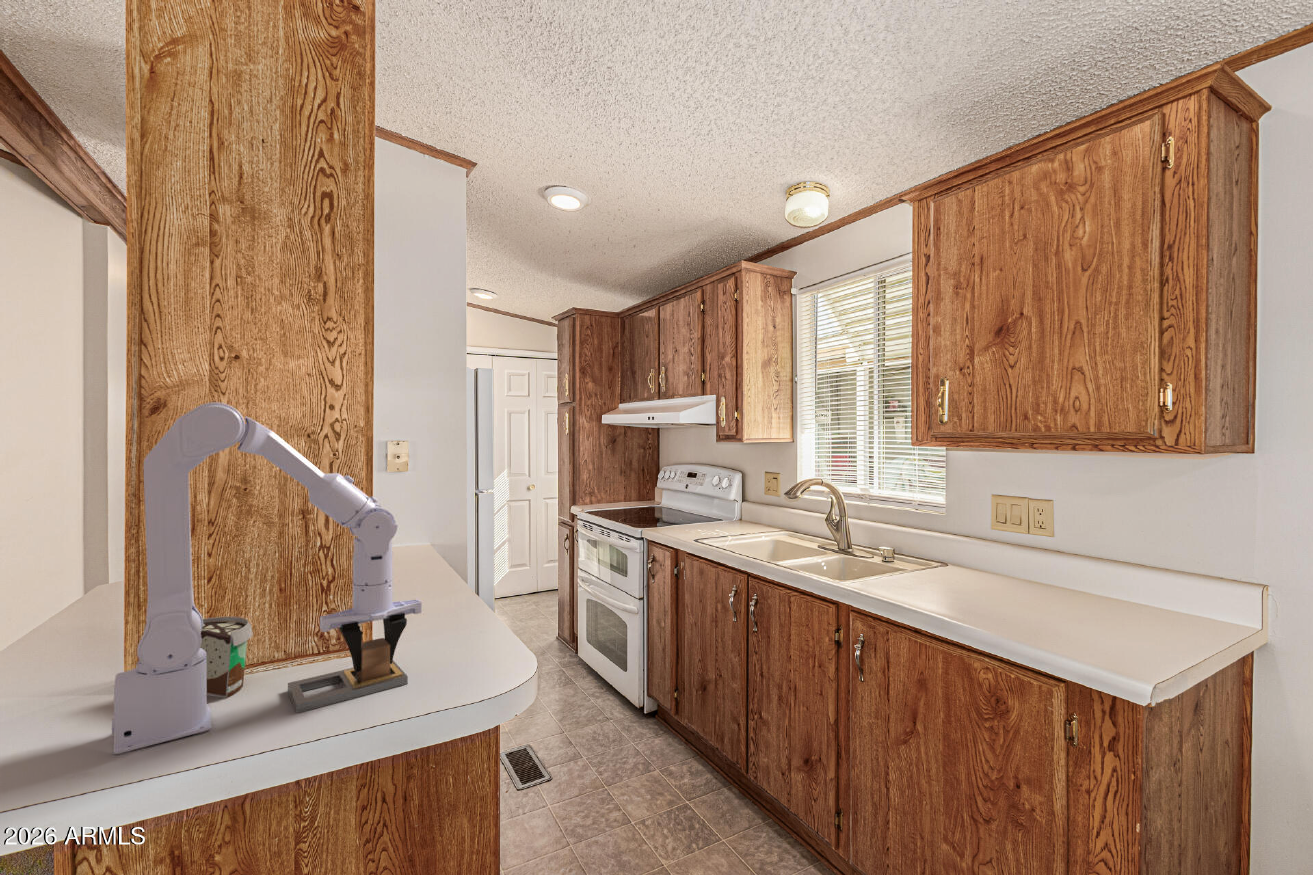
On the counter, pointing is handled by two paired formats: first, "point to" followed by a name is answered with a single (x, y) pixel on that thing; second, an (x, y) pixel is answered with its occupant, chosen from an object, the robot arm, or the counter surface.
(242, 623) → the food container
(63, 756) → the counter surface
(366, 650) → the brown wooden block
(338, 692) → the grey slotted tray
